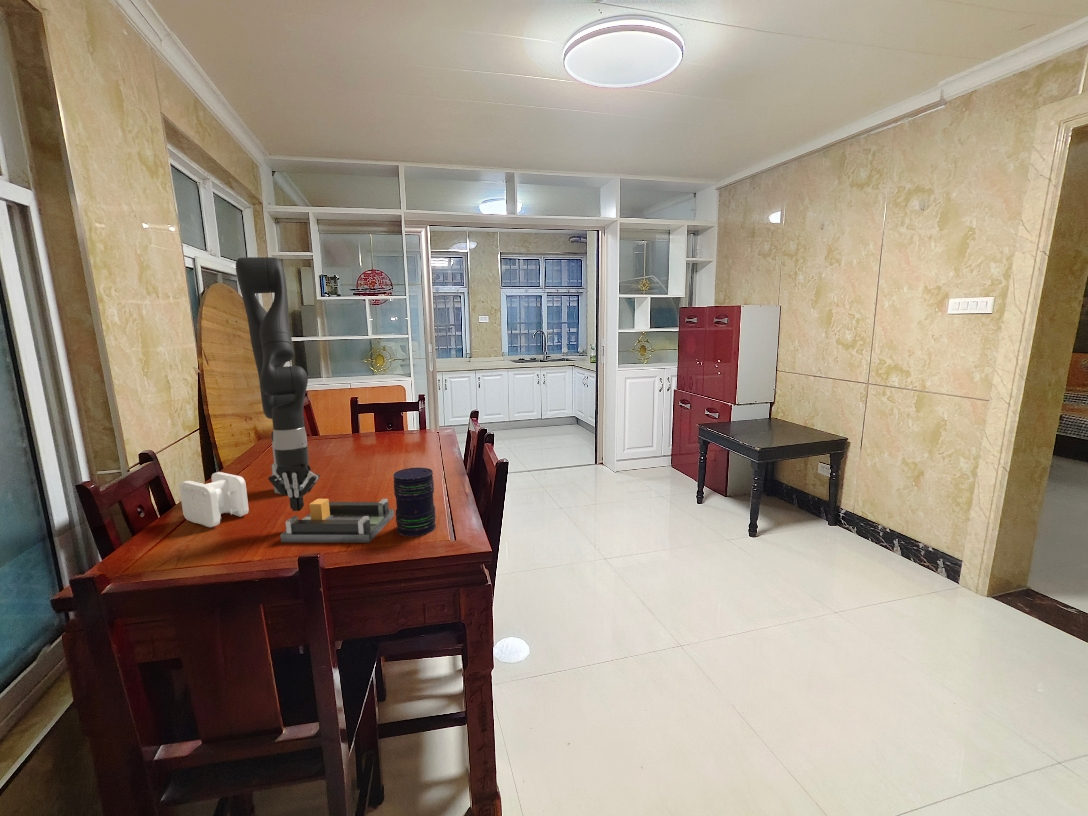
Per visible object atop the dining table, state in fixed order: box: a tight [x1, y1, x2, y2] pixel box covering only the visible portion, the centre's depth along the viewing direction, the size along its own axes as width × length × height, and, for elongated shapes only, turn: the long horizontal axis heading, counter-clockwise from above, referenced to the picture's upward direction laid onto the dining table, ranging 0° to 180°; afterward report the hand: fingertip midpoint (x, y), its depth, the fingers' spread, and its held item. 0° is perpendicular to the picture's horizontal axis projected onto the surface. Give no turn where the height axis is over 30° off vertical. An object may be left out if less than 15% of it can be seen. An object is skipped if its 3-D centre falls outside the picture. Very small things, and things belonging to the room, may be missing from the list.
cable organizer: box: [178, 471, 249, 528], centre depth 133 cm, size 15×11×12 cm
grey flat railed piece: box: [280, 498, 395, 544], centre depth 125 cm, size 22×17×5 cm
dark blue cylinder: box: [393, 467, 437, 537], centre depth 124 cm, size 10×10×15 cm
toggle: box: [309, 498, 333, 520], centre depth 125 cm, size 4×4×5 cm
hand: (297, 510), depth 125 cm, fingers closed
